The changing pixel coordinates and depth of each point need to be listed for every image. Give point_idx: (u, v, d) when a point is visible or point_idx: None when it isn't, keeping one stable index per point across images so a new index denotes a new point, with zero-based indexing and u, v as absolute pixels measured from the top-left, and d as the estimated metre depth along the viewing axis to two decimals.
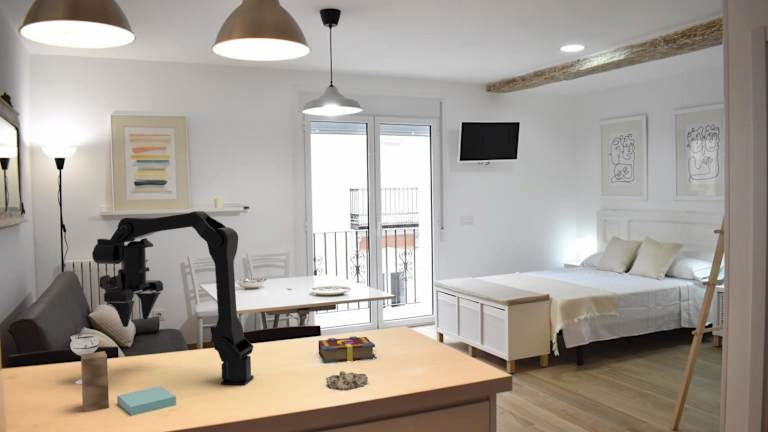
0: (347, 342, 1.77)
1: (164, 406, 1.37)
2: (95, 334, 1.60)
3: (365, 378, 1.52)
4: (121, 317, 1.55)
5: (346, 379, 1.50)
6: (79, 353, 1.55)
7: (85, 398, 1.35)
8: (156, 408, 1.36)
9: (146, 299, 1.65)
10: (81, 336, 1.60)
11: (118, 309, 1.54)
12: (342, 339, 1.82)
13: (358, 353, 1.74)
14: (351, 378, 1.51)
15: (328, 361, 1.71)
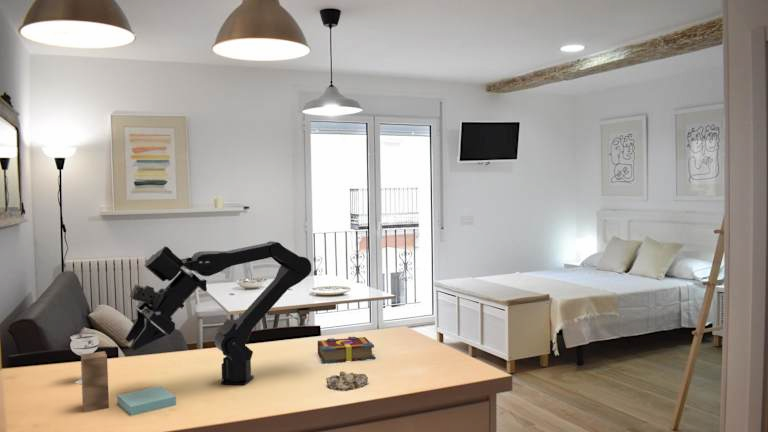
0: (346, 342, 1.77)
1: (164, 406, 1.37)
2: (95, 334, 1.60)
3: (365, 378, 1.52)
4: (140, 339, 1.38)
5: (346, 379, 1.50)
6: (79, 353, 1.55)
7: (85, 398, 1.35)
8: (156, 408, 1.36)
9: (143, 323, 1.48)
10: (81, 336, 1.60)
11: (145, 331, 1.38)
12: (341, 339, 1.82)
13: (357, 354, 1.74)
14: (351, 378, 1.51)
15: (327, 361, 1.71)
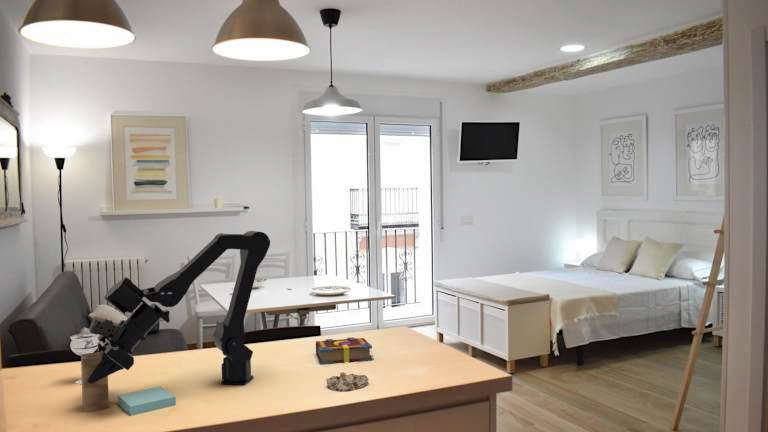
0: (344, 343, 1.76)
1: (164, 406, 1.37)
2: (95, 334, 1.60)
3: (366, 379, 1.51)
4: (96, 373, 1.35)
5: (346, 380, 1.49)
6: (79, 353, 1.55)
7: (85, 398, 1.35)
8: (156, 408, 1.36)
9: None
10: (81, 336, 1.60)
11: (102, 364, 1.35)
12: (339, 340, 1.81)
13: (355, 355, 1.73)
14: (351, 379, 1.50)
15: (324, 362, 1.70)
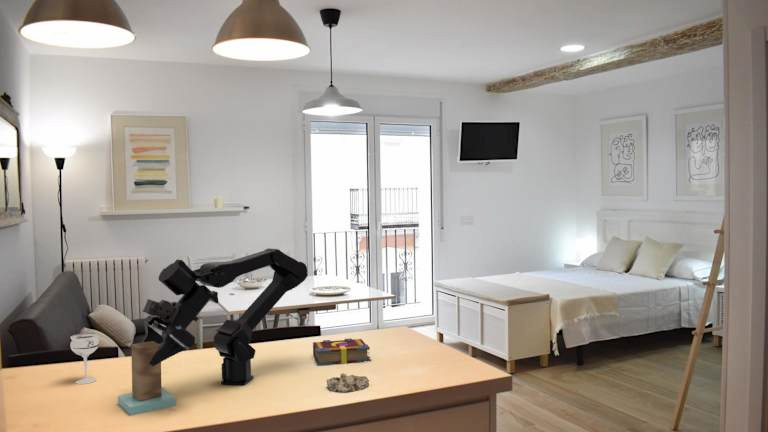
0: (341, 344, 1.74)
1: (164, 407, 1.37)
2: (95, 334, 1.60)
3: (366, 381, 1.50)
4: (159, 355, 1.36)
5: (346, 382, 1.48)
6: (79, 353, 1.55)
7: (140, 387, 1.36)
8: (155, 409, 1.36)
9: (153, 338, 1.45)
10: (81, 336, 1.60)
11: (164, 346, 1.36)
12: (337, 341, 1.80)
13: (352, 356, 1.71)
14: (352, 380, 1.49)
15: (322, 363, 1.69)
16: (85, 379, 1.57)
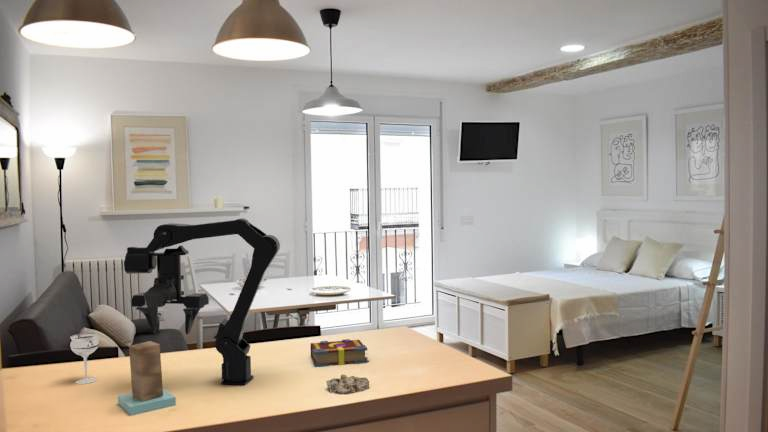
0: (339, 345, 1.73)
1: (164, 407, 1.37)
2: (95, 334, 1.60)
3: (366, 382, 1.49)
4: (189, 324, 1.53)
5: (347, 383, 1.47)
6: (79, 353, 1.55)
7: (142, 387, 1.36)
8: (155, 409, 1.36)
9: (153, 311, 1.55)
10: (81, 336, 1.60)
11: None
12: (334, 342, 1.79)
13: (350, 357, 1.70)
14: (352, 381, 1.48)
15: (319, 364, 1.68)
16: (85, 379, 1.57)
